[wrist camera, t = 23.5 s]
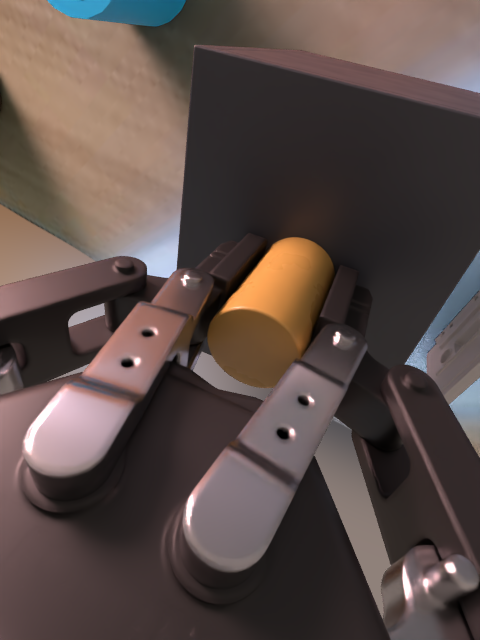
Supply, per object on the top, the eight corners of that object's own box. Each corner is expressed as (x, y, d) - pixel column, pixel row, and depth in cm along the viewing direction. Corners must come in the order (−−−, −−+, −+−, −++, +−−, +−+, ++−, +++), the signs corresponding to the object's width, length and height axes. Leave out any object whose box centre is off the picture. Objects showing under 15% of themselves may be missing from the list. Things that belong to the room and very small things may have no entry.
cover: (257, 241, 29) (107, 409, 15) (300, 49, 21) (76, 37, 7) (387, 287, 27) (350, 528, 13) (486, 94, 19) (650, 189, 5)
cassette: (439, 361, 36) (442, 418, 30) (421, 352, 37) (420, 408, 31) (535, 261, 29) (564, 313, 23) (511, 251, 29) (534, 300, 23)
